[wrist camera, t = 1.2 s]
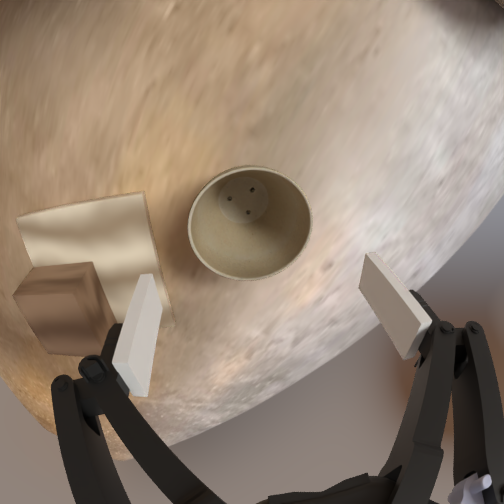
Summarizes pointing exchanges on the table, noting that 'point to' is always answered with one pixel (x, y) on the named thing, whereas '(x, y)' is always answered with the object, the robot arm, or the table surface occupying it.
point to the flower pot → (249, 223)
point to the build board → (100, 245)
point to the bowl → (500, 3)
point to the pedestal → (66, 308)
